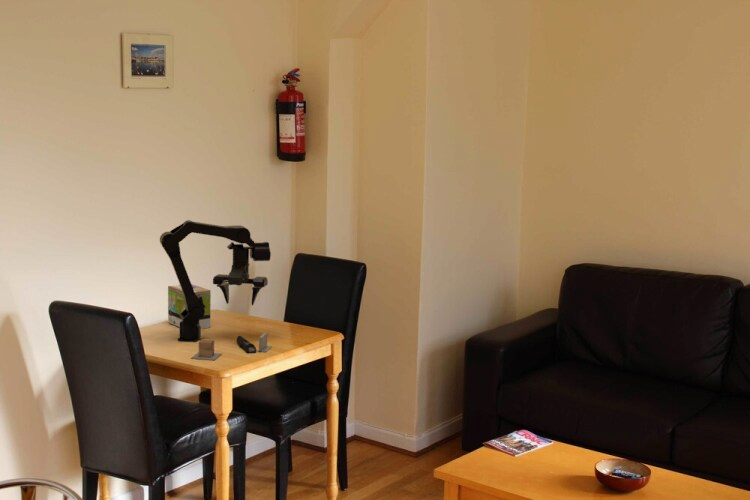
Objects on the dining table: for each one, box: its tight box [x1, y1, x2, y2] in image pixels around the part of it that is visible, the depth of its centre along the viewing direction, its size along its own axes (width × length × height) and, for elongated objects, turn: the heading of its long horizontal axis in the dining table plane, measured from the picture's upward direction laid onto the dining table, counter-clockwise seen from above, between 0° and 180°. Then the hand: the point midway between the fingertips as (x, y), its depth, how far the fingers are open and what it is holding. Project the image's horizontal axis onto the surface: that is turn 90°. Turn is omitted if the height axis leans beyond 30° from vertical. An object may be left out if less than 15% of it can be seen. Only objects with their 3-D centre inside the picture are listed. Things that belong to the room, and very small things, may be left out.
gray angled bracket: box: [257, 332, 272, 353], centre depth 319 cm, size 3×7×5 cm, turn 172°
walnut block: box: [198, 338, 215, 358], centre depth 307 cm, size 4×4×5 cm
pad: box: [190, 351, 223, 361], centre depth 307 cm, size 8×8×1 cm
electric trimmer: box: [236, 335, 258, 354], centre depth 320 cm, size 4×16×3 cm, turn 24°
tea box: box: [167, 283, 212, 330], centre depth 349 cm, size 15×10×15 cm, turn 42°
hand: (240, 304), depth 334 cm, fingers open, 9 cm apart
